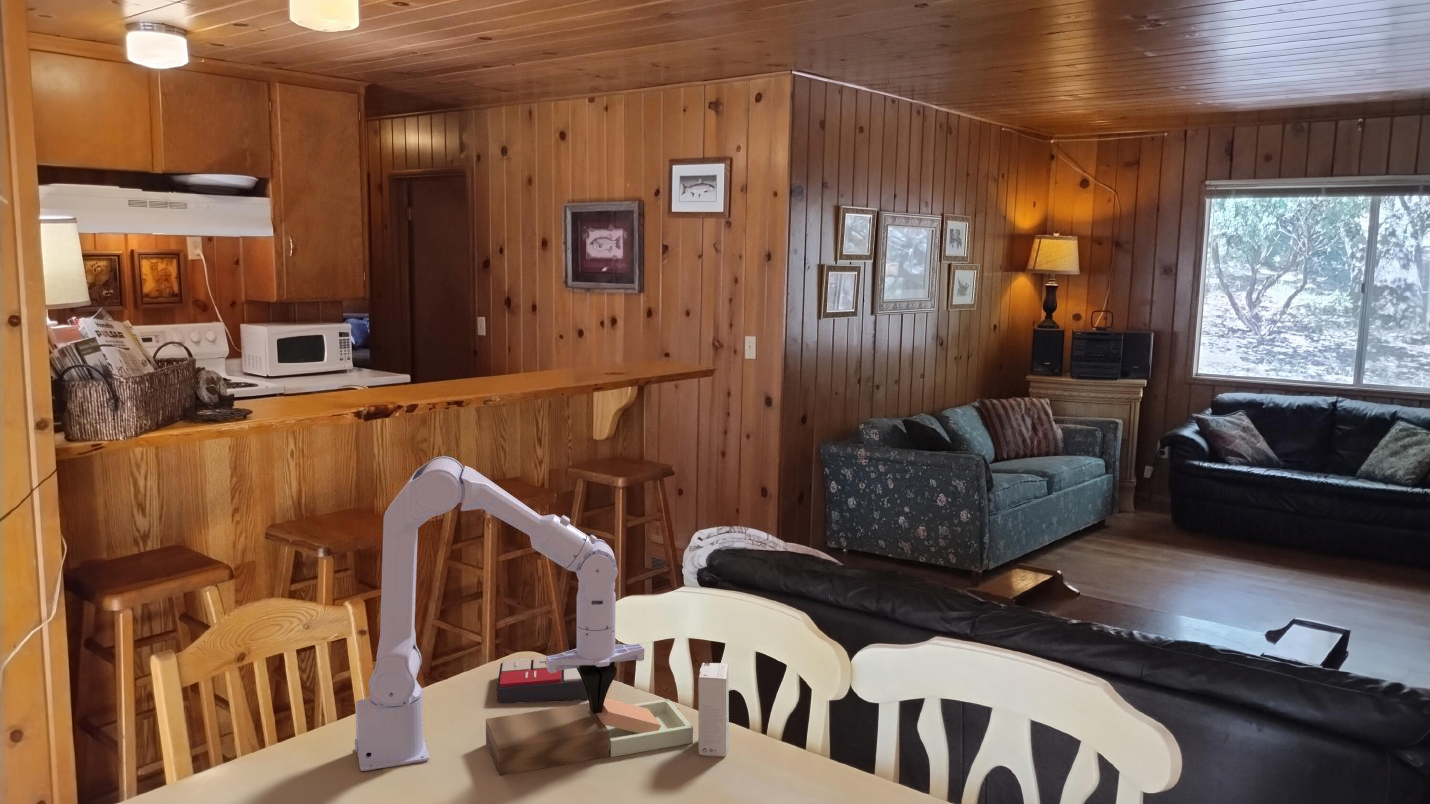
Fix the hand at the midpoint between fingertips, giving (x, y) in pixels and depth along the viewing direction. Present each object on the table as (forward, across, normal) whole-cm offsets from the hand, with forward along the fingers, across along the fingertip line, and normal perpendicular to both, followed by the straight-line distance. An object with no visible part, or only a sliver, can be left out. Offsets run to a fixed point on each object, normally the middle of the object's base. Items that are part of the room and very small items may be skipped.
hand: (595, 710), depth 157 cm
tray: (+5, +7, 0) cm, 8 cm away
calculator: (+6, -3, +22) cm, 23 cm away
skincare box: (+5, +16, -8) cm, 18 cm away
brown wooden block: (+5, -8, 0) cm, 9 cm away
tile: (+3, +4, 0) cm, 5 cm away
